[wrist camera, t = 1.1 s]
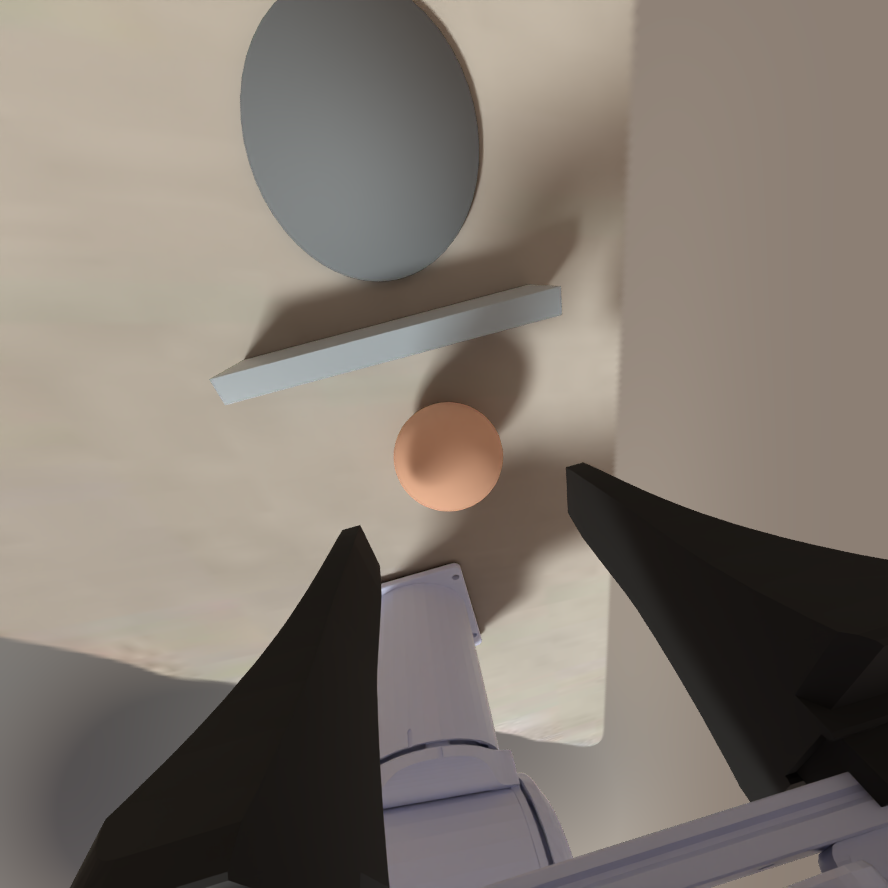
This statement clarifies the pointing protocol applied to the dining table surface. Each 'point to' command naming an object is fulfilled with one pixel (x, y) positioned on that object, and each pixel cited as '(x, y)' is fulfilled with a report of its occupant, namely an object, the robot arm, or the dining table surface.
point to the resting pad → (360, 133)
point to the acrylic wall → (387, 341)
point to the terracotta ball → (448, 456)
